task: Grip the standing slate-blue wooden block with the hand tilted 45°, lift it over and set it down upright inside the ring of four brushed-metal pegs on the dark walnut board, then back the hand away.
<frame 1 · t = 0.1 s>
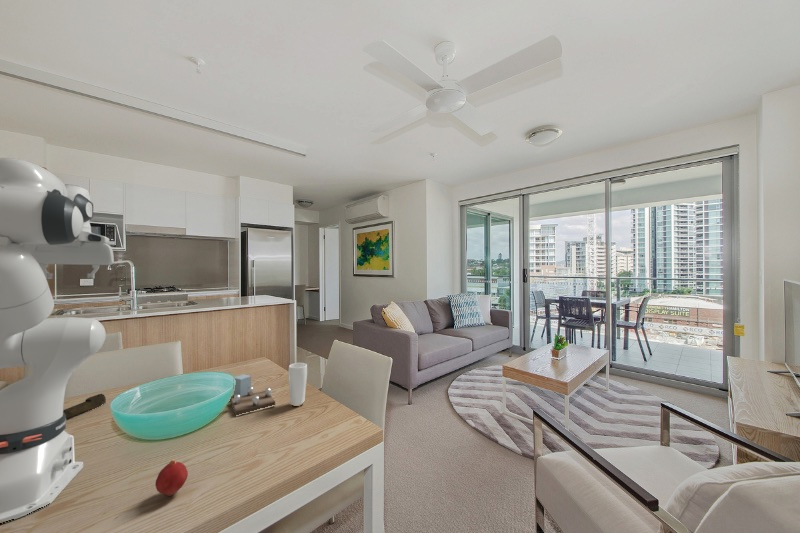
hand: (70, 278, 97), 48 cm above the table, tool pointing down, fingers open, 8 cm apart
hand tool: (74, 416, 105), on the table
peg board: (252, 405, 114), on the table
block: (242, 396, 122), on the table
onion: (171, 495, 68), on the table
drinking glass: (297, 405, 115), on the table
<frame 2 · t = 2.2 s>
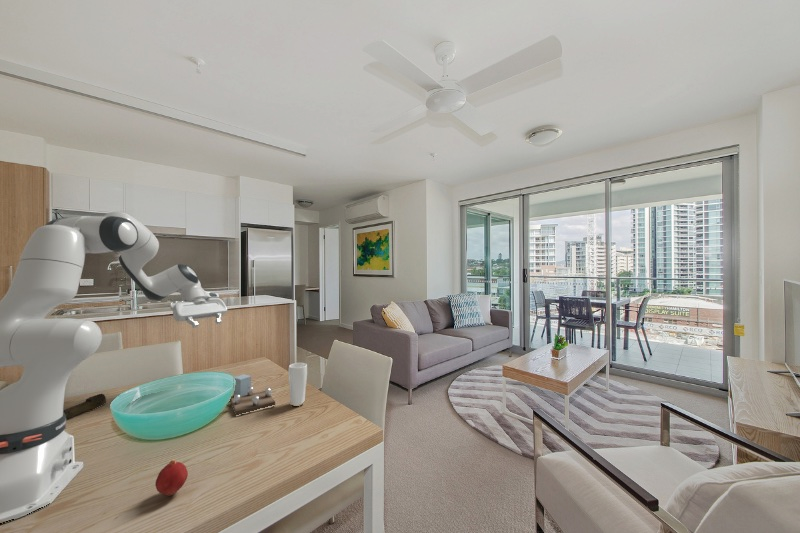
hand: (208, 324, 126), 28 cm above the table, tool tilted 45°, fingers open, 8 cm apart
nothing on the table moved.
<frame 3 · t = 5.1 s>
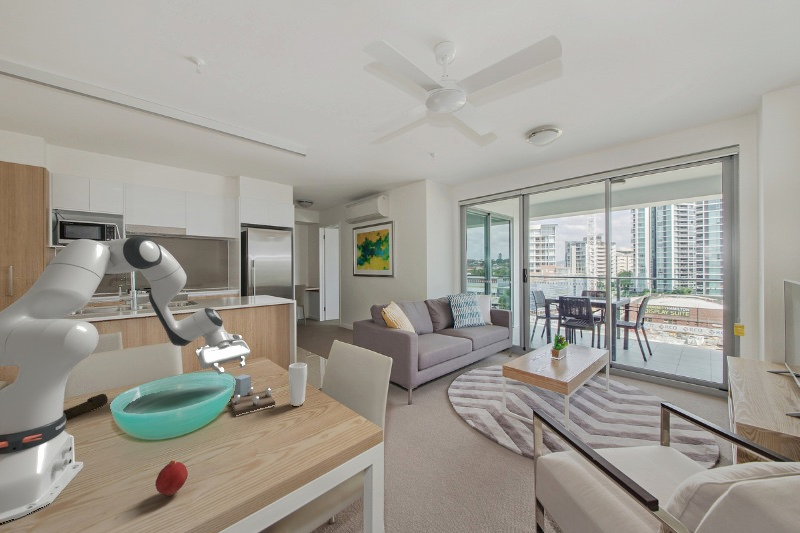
hand: (232, 369, 125), 10 cm above the table, tool tilted 45°, fingers open, 8 cm apart
nothing on the table moved.
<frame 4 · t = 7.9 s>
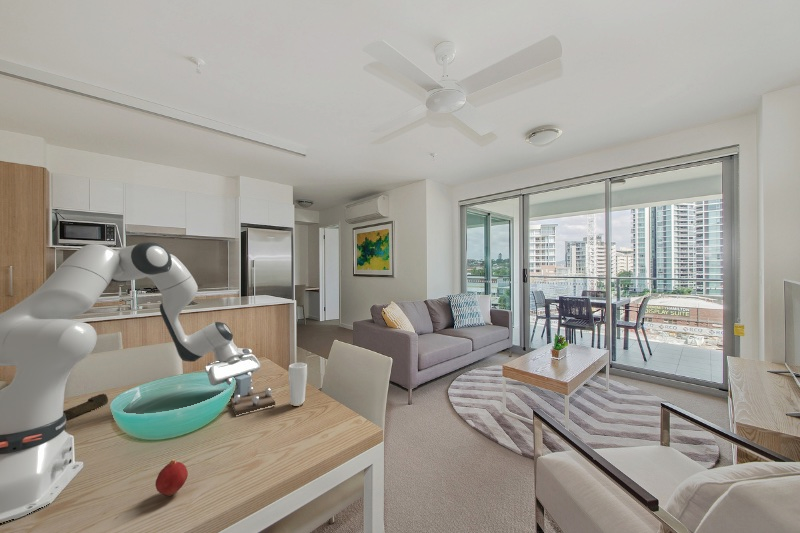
hand: (243, 385, 121), 4 cm above the table, tool tilted 45°, fingers closed on block, 4 cm apart
block: (242, 396, 122), on the table, touching gripper
everything else where it was.
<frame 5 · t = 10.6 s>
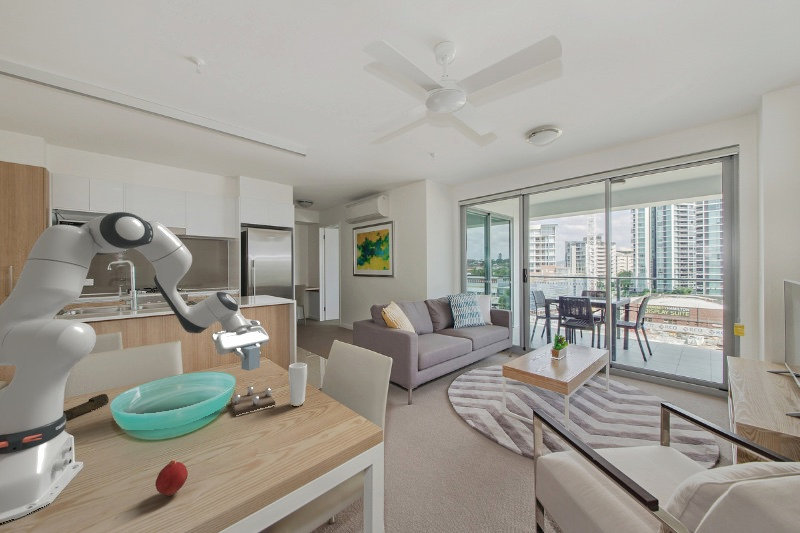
hand: (251, 356, 115), 18 cm above the table, tool tilted 45°, fingers closed on block, 4 cm apart
block: (250, 368, 116), point 14 cm above the table, touching gripper
when the fingers open (8 cm above the table, at t = 13.6 s): block drops 1 cm, resting on peg board.
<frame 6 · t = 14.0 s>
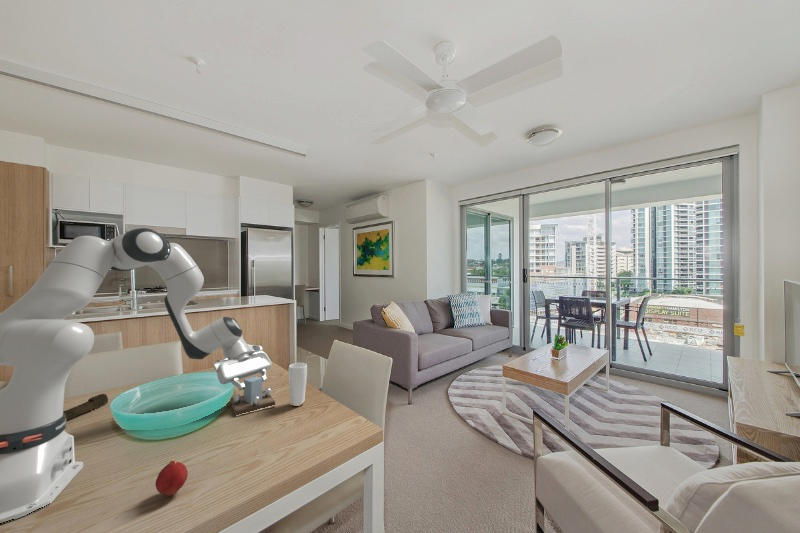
hand: (254, 384, 114), 8 cm above the table, tool tilted 45°, fingers open, 8 cm apart
block: (252, 400, 114), point 2 cm above the table, touching peg board
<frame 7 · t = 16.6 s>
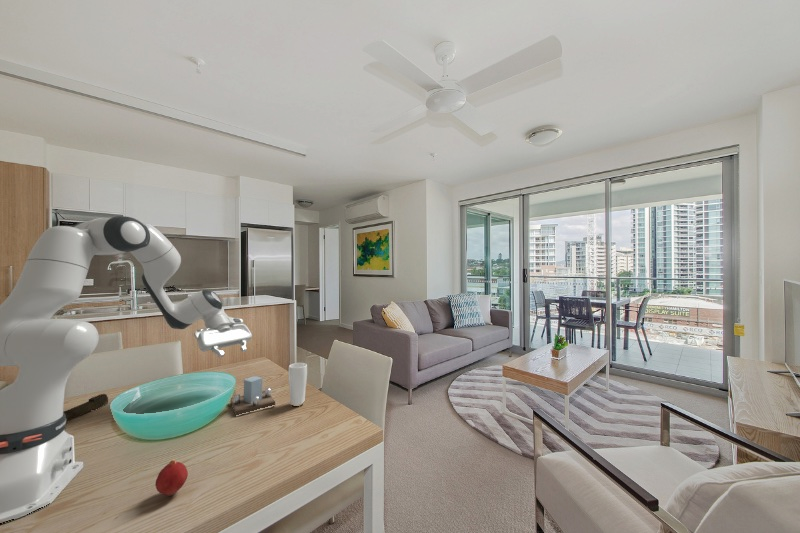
hand: (233, 353, 120), 18 cm above the table, tool tilted 45°, fingers open, 8 cm apart
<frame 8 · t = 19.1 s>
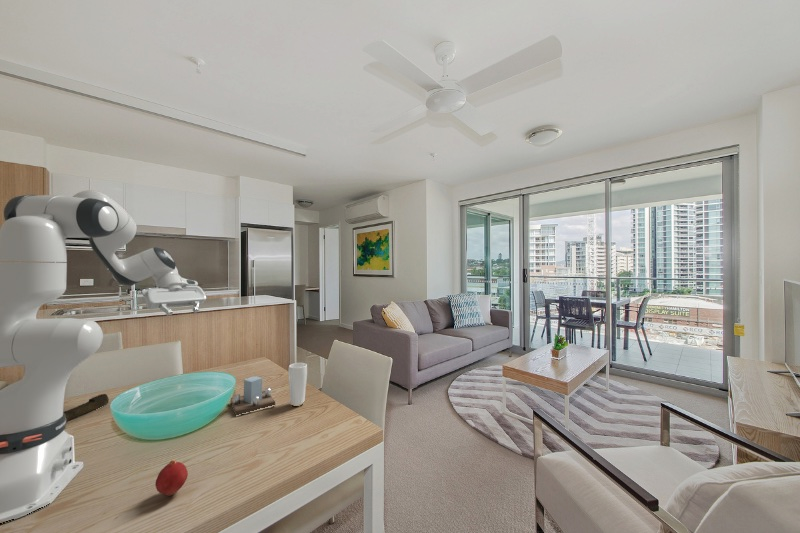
hand: (183, 312, 117), 34 cm above the table, tool tilted 45°, fingers open, 8 cm apart
at the end: block 0.1 cm off-centre on the peg board, point 2.0 cm above the peg board's base; block tilted 0°; the gripper is holding nothing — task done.
